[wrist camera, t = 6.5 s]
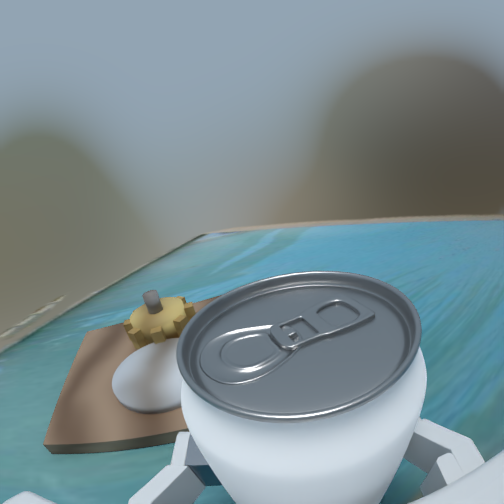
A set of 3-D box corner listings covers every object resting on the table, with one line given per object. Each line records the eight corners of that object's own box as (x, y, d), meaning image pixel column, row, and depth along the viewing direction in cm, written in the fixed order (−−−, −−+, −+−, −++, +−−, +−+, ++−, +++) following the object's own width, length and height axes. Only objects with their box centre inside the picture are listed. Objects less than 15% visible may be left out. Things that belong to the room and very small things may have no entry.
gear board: (236, 299, 35) (226, 257, 33) (297, 405, 17) (286, 344, 16) (90, 339, 31) (73, 301, 30) (51, 453, 14) (9, 404, 12)
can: (234, 482, 12) (151, 306, 8) (335, 439, 14) (331, 250, 10) (280, 570, 6) (185, 501, 2) (398, 508, 8) (492, 319, 4)
